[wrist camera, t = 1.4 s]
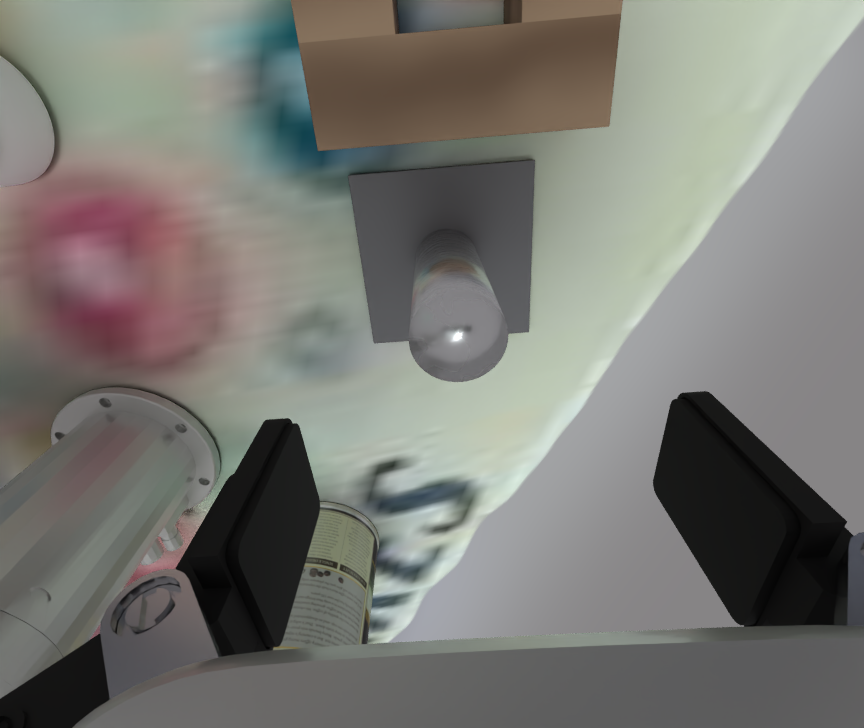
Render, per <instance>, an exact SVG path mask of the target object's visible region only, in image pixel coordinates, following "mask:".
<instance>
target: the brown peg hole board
mask: <svg viewBox="0 0 864 728" xmlns="http://www.w3.org/2000/svg"><path fill="white" fill-rule="evenodd" d="M622 1H623V0H504V24H502V25H491V26H480V27H469V28H458V29H447V30H436V31H425V32H414V33H403V34H399V23H398V11H397V0H291V4H292V9H293V15H294V20H295V26H296V31H297V37H298V43H299V48H300V54H301V59H302V65H303V70H304V76H305V81H306V87H307V93H308V98H309V104H310V109H311V115H312V120H313V126H314V131H315V137H316V142H317V148H318V151H324V150H336V149H348V148H360V147H372V146H383V145H395V144H407V143H419V142H431V141H443V140H454V139H466V138H478V137H490V136H502V135H513V134H525V133H537V132H549V131H561V130H573V129H584V128H596V127H608V126H609V124H610V114H611V105H612V95H613V86H614V76H615V67H616V58H617V48H618V39H619V29H620V20H621V10H622Z"/></svg>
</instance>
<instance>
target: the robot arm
mask: <svg viewBox="0 0 864 728" xmlns="http://www.w3.org/2000/svg"><path fill="white" fill-rule="evenodd" d="M51 443H52V447H51V448H50V449H48V450H47V451H46V452H45V453H44V454H42V455H41V456H40V457H39V458H38V459H36V460H35V461H34V462H33V463H32V464H30V465H29V466H28V467H27V468H26V469H24V470H23V471H22V472H21V473H20V474H19V475H17V476H16V477H15V478H14V479H13V480H11V481H10V482H9V483H8V484H7V485H5V486H4V487H3V488H2V489H1V490H0V728H864V532H862V533H858V534H857V535H855V536H853V535H852V534H851V533H850V532H849V531H848V530H847V529H846V528H845V527H844V526H845V524H846V523H847V521H846V520H845V519H844V518H842V516H840V515H839V514H838V513H837V512H836V511H835V510H834V509H833V508H832V507H831V506H830V505H829V504H828V503H827V502H826V501H824V500H823V499H822V498H821V497H820V496H819V495H818V494H817V493H816V492H815V491H814V490H813V489H812V488H810V486H808V485H807V484H806V483H805V482H804V481H803V480H802V479H801V478H800V477H799V476H798V475H797V474H796V473H795V472H794V471H792V469H790V468H789V467H788V466H787V465H786V464H785V463H784V462H783V461H782V460H781V459H780V458H779V457H778V456H777V455H776V454H774V453H773V452H772V451H771V450H770V449H769V448H768V447H767V446H766V445H765V444H764V443H763V442H762V441H760V439H758V437H756V436H755V435H754V434H753V433H752V432H751V431H750V430H749V429H748V428H747V427H746V426H744V424H743V423H742V422H740V421H739V420H738V419H737V418H736V417H735V416H734V415H733V414H732V413H731V412H730V411H729V410H728V409H727V408H726V407H725V406H724V405H722V404H721V403H720V402H719V401H718V400H717V399H716V398H715V397H714V396H713V395H712V394H710V393H709V392H705V391H704V392H689V393H681V394H680V395H679V396H678V398H677V399H674V400H673V401H672V402H671V405H670V409H669V413H668V418H667V423H666V427H665V431H664V435H663V440H662V444H661V449H660V453H659V457H658V462H657V466H656V471H655V475H654V479H653V486H654V491H655V493H656V495H657V497H658V499H659V500H660V502H661V503H662V505H663V507H664V508H665V510H666V512H667V513H668V515H669V516H670V518H671V520H672V521H673V523H674V525H675V526H676V528H677V529H678V531H679V533H680V534H681V536H682V537H683V539H684V541H685V542H686V544H687V546H688V547H689V549H690V550H691V552H692V554H693V555H694V557H695V558H696V560H697V561H698V563H699V565H700V567H701V568H702V570H703V571H704V573H705V574H706V576H707V578H708V579H709V581H710V583H711V584H712V586H713V588H714V589H715V591H716V592H717V594H718V596H719V597H720V599H721V600H722V602H723V604H724V605H725V607H726V609H727V610H728V612H729V613H730V615H731V617H732V618H733V619H734V620H735V622H736V623H738V624H740V625H744V627H722V628H698V629H675V630H649V631H625V632H602V633H581V634H558V635H536V636H515V637H494V638H473V639H454V640H435V641H416V642H396V643H377V644H358V645H340V646H326V647H312V648H298V649H284V650H273V648H274V647H279V646H280V645H281V643H282V641H283V638H284V634H285V631H286V628H287V624H288V621H289V617H290V614H291V610H292V607H293V603H294V600H295V596H296V593H297V590H298V586H299V583H300V579H301V576H302V572H303V569H304V565H305V562H306V558H307V555H308V551H309V548H310V545H311V541H312V538H313V534H314V531H315V527H316V524H317V520H318V517H319V513H320V500H319V496H318V492H317V489H316V485H315V481H314V478H313V474H312V470H311V467H310V463H309V460H308V456H307V452H306V449H305V445H304V442H303V438H302V434H301V431H300V427H299V425H298V424H292V421H291V420H290V419H288V418H286V419H271V420H265V421H264V423H263V424H262V426H261V428H260V430H259V431H258V433H257V435H256V437H255V438H254V440H253V442H252V444H251V445H250V447H249V449H248V451H247V452H246V454H245V456H244V458H243V459H242V461H241V463H240V465H239V466H238V468H237V470H236V472H235V473H234V474H233V475H231V476H230V477H229V478H228V480H227V481H226V483H225V484H224V486H223V488H222V489H221V491H220V493H219V495H218V496H217V498H216V500H215V502H214V503H213V505H212V507H211V508H210V510H209V512H208V514H207V515H206V517H205V519H204V520H203V522H202V524H201V526H200V527H199V529H198V531H197V532H196V534H195V536H194V538H193V539H192V541H191V543H190V545H189V546H188V548H187V550H186V551H185V553H184V555H183V557H182V558H181V560H180V562H179V563H178V565H177V567H176V569H164V570H159V571H155V572H152V573H150V574H147V575H145V576H143V577H141V578H139V579H138V580H136V581H135V582H133V583H132V584H130V585H129V586H127V587H126V588H125V589H124V590H123V588H124V587H125V585H126V584H127V582H128V581H129V579H130V578H131V576H132V575H133V573H134V572H135V570H136V569H137V567H138V566H139V564H140V563H141V564H142V565H149V564H152V563H154V562H155V561H157V560H158V559H159V558H160V557H161V556H162V555H163V552H164V549H163V547H162V545H161V543H160V542H159V540H158V538H157V537H160V536H161V540H162V542H163V543H164V545H165V547H166V549H167V551H174V550H176V549H178V548H180V547H181V546H182V544H183V542H184V540H183V538H182V536H181V534H180V532H179V530H178V529H177V528H176V526H175V525H176V523H177V521H178V519H179V518H180V516H181V515H182V513H183V512H184V511H185V510H187V509H190V508H192V507H194V506H196V505H197V504H199V503H201V502H202V501H203V500H204V499H205V498H206V497H207V496H208V495H209V493H210V492H211V490H212V489H213V487H214V485H215V484H216V481H217V479H218V476H219V472H220V459H219V453H218V450H217V448H216V445H215V443H214V441H213V439H212V438H211V436H210V435H209V433H208V432H207V430H206V429H205V428H204V427H203V426H202V425H201V424H200V422H199V421H198V420H197V419H196V418H194V417H193V416H192V415H191V414H189V413H188V412H187V411H186V410H184V409H183V408H181V407H179V406H178V405H176V404H174V403H173V402H171V401H169V400H167V399H164V398H162V397H160V396H157V395H155V394H152V393H148V392H145V391H141V390H137V389H130V388H122V387H114V388H101V389H97V390H92V391H89V392H87V393H84V394H82V395H80V396H78V397H76V398H75V399H74V400H72V401H71V402H70V403H68V404H67V405H65V406H64V407H63V409H62V410H61V411H60V412H59V413H58V414H57V415H56V418H55V420H54V422H53V424H52V428H51ZM122 590H123V591H122ZM121 591H122V592H121ZM100 623H101V626H100V634H98V635H97V636H95V637H94V638H92V639H91V640H89V639H90V638H91V636H92V635H93V633H94V632H95V630H96V629H97V627H98V626H99V624H100Z"/></svg>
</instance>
